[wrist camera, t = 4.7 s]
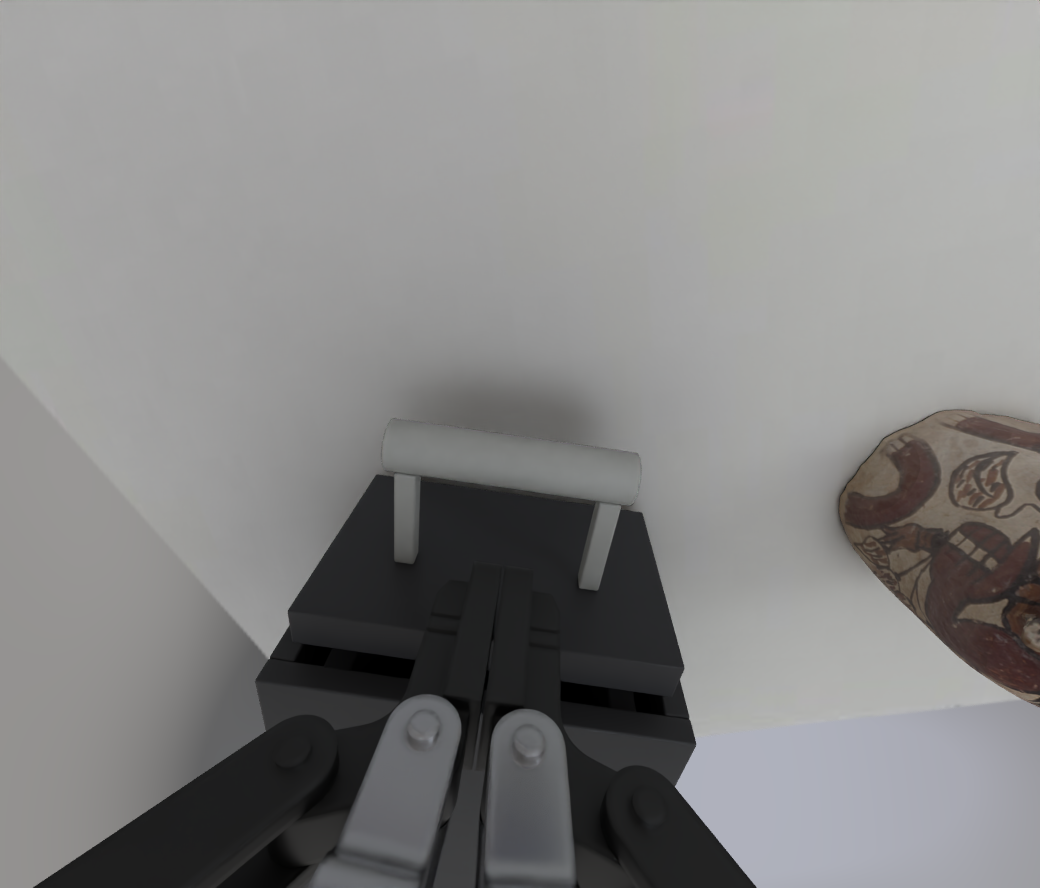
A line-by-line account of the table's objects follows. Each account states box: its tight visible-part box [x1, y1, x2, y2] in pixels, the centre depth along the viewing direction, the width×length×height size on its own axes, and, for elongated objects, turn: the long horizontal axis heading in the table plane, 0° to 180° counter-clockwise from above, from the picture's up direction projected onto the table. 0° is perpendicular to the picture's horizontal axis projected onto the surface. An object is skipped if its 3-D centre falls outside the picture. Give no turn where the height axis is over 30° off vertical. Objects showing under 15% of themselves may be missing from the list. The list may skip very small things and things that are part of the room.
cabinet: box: [255, 626, 696, 888], centre depth 19 cm, size 13×11×8 cm
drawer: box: [288, 418, 684, 712], centre depth 17 cm, size 17×10×7 cm, turn 173°
